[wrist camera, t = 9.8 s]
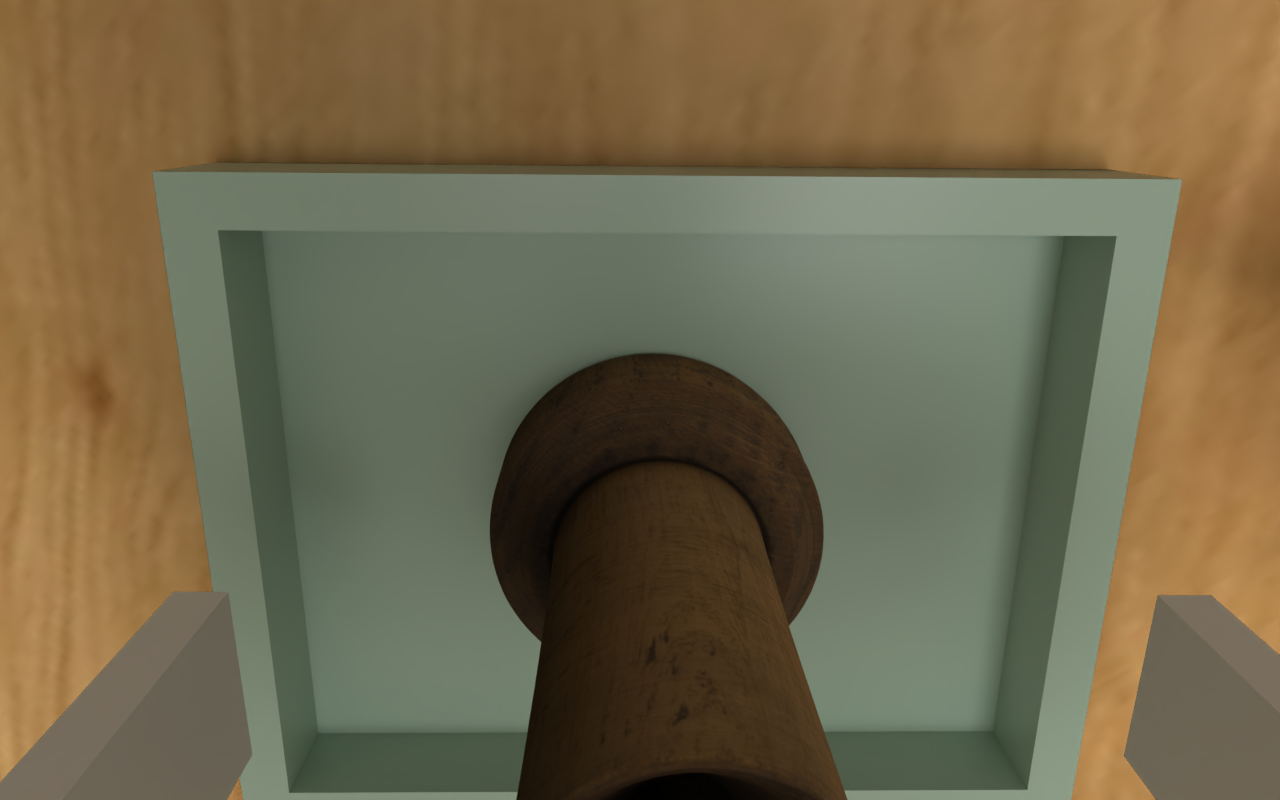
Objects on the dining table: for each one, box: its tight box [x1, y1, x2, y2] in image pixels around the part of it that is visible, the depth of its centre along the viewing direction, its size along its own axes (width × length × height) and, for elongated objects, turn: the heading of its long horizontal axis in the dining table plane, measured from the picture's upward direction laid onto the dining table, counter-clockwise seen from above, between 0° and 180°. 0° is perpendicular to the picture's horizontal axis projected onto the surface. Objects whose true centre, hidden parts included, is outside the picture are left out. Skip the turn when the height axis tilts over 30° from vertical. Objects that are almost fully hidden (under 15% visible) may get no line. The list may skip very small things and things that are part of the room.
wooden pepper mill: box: [490, 354, 847, 800], centre depth 12 cm, size 7×6×18 cm
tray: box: [152, 163, 1182, 800], centre depth 20 cm, size 14×18×3 cm
